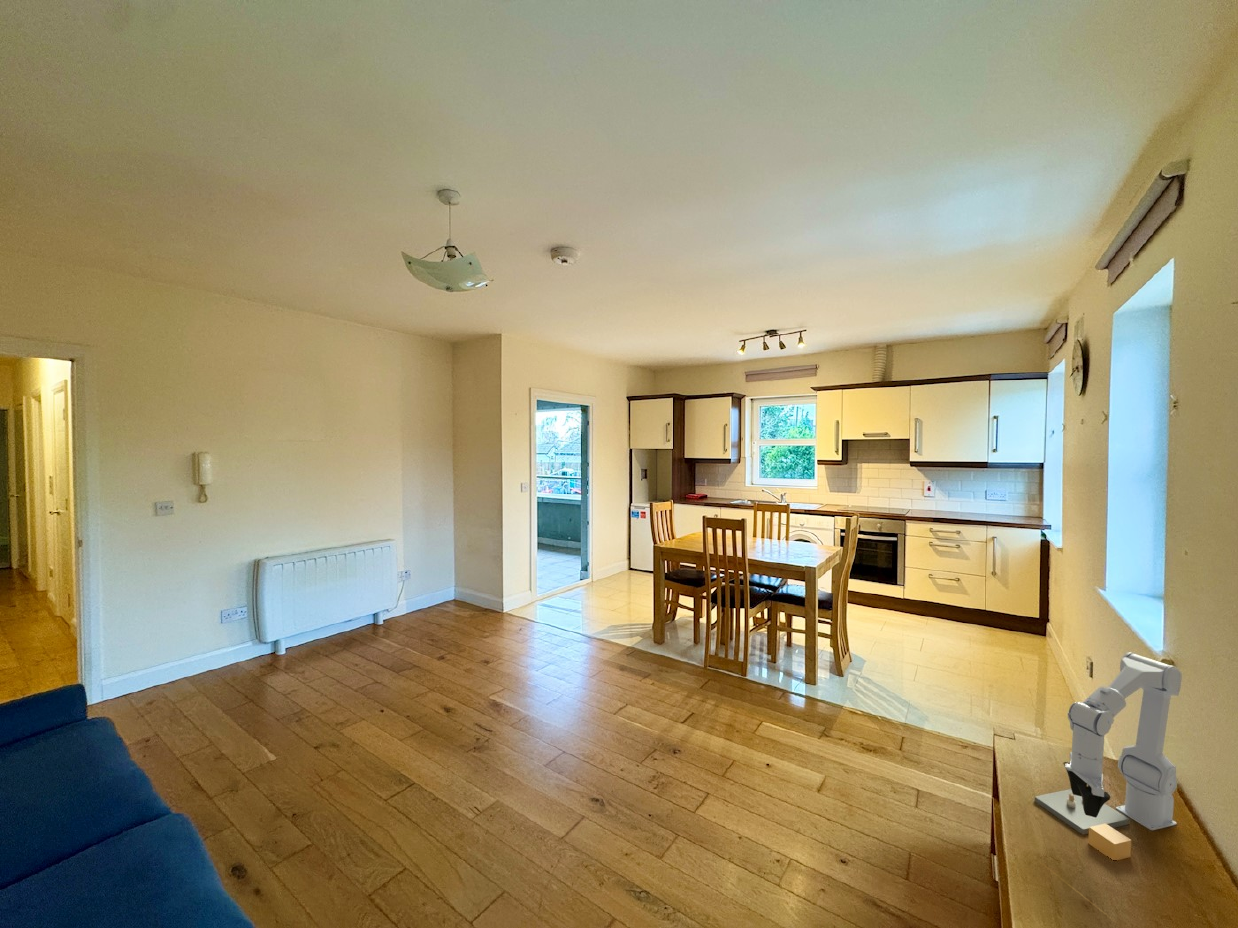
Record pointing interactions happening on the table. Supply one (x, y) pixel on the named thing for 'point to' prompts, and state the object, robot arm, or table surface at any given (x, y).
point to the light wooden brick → (1109, 842)
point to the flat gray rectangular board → (1078, 811)
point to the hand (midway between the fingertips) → (1084, 804)
